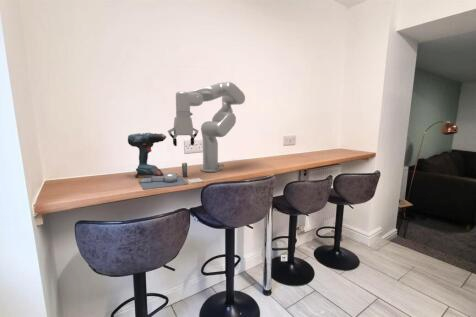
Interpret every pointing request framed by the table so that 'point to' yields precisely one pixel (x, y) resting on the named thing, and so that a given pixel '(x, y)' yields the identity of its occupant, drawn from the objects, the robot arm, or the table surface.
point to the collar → (160, 178)
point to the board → (162, 184)
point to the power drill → (145, 152)
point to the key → (184, 169)
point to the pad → (195, 180)
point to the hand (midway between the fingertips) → (183, 145)
